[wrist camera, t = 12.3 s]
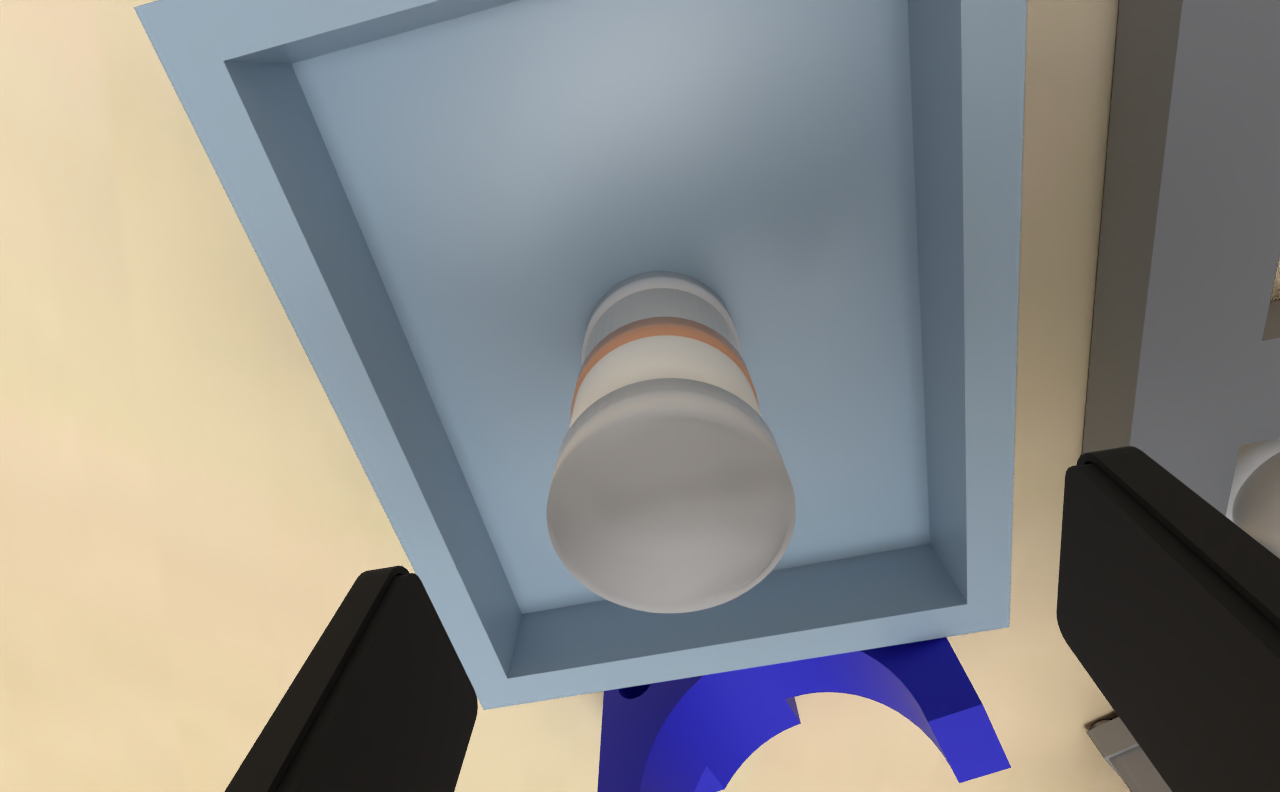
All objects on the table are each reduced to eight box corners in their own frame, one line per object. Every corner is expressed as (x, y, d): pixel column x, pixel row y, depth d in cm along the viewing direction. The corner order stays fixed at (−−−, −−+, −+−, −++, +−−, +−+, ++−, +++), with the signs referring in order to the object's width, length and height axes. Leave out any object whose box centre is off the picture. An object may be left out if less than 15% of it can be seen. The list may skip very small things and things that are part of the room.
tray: (944, -182, 14) (1034, -260, 10) (957, 549, 22) (1009, 627, 19) (238, 22, 15) (133, 7, 12) (504, 626, 24) (483, 709, 21)
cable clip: (659, 736, 27) (663, 901, 22) (605, 669, 25) (595, 830, 20) (940, 637, 24) (1024, 796, 19) (901, 554, 23) (982, 704, 17)
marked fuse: (721, 255, 17) (778, 385, 10) (746, 394, 19) (809, 592, 12) (567, 290, 17) (513, 439, 10) (606, 423, 19) (583, 630, 12)
